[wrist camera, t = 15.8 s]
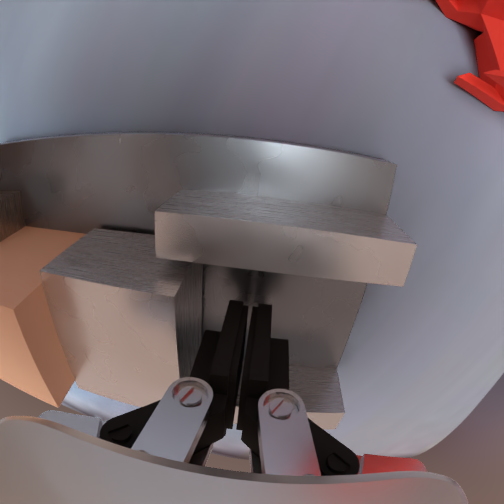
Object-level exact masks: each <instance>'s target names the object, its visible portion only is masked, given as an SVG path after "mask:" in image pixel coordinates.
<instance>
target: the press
mask: <svg viewBox="0 0 504 504" xmlns="http://www.w3.org/2000/svg"><path fill="white" fill-rule="evenodd" d="M396 167H397V165H396V164H394V163H391V162H389V161H386V160H384V159H379V158H375V157H370V156H366V155H361V154H356V153H351V152H346V151H341V150H335V149H329V148H324V147H318V146H312V145H305V144H298V143H291V142H284V141H276V140H268V139H259V138H250V137H240V136H228V135H215V134H198V133H175V132H109V133H87V134H72V135H59V136H49V137H39V138H31V139H23V140H16V141H9V142H4V143H0V242H1V241H3V240H4V239H6V238H7V237H9V236H11V235H12V234H14V233H15V232H17V231H19V230H20V229H22V228H24V227H25V226H28V227H36V228H44V229H52V230H60V231H68V232H76V233H84V234H87V233H88V232H90V231H91V230H92V229H94V228H98V229H106V230H115V231H124V232H132V233H141V234H150V235H155V251H156V257H157V258H164V259H172V260H179V261H187V262H194V263H202V264H203V276H202V338H203V335H204V332H205V330H213V331H220V332H221V330H222V326H223V322H224V319H225V315H226V311H227V308H228V304H229V301H230V300H236V301H244V305H246V306H249V308H248V318H247V328H246V338H245V348H244V357H243V365H242V371H241V377H240V384H239V390H238V396H237V403H236V409H235V415H234V421H233V423H235V424H237V419H238V410H239V400H240V390H241V381H242V373H243V367H244V360H245V353H246V347H247V340H248V333H249V327H250V320H251V313H252V307H253V306H255V307H258V303H261V304H270V305H272V322H271V338H278V339H288V341H289V390H290V391H293V392H294V393H296V394H297V395H299V397H300V398H301V399H302V400H303V403H304V405H305V409H306V413H307V417H308V418H309V419H310V420H312V421H313V422H314V423H315V424H317V425H318V426H319V427H321V428H322V429H336V427H337V425H338V424H339V422H340V420H341V419H342V417H343V415H344V413H345V411H344V405H343V400H342V394H341V389H340V384H339V378H338V373H337V366H338V363H339V361H340V358H341V356H342V353H343V351H344V348H345V346H346V343H347V340H348V338H349V335H350V332H351V330H352V327H353V324H354V321H355V318H356V316H357V313H358V310H359V307H360V304H361V301H362V298H363V295H364V292H365V289H366V286H367V283H373V284H383V285H393V286H404V283H405V280H406V277H407V275H408V272H409V269H410V266H411V263H412V260H413V257H414V253H415V250H416V247H417V244H416V243H415V242H414V241H413V240H412V239H411V238H410V237H409V236H408V235H407V234H406V233H405V232H404V231H403V230H402V229H401V228H400V227H399V226H397V225H396V224H395V223H394V222H393V221H392V220H391V219H390V218H389V217H388V216H387V215H386V213H387V209H388V205H389V200H390V196H391V191H392V187H393V182H394V177H395V172H396Z"/></svg>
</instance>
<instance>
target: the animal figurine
mask: <svg viewBox="0 0 504 504" xmlns="http://www.w3.org/2000/svg"><path fill="white" fill-rule="evenodd" d="M436 2H437V4H438V5H439V7H440V8H441V10H442V12H443V13H444V15H445V16H446V17H447V18H450V19H452V20H454V21H457V22H459V23H461V24H463V25H466V26H468V27H470V28H472V29H474V30H476V31H481V32H483V33H482V34H481V35H479V36H478V37H477V38H476V39H474V43H475V49H476V56H477V65H478V71H479V77H480V79H479V78H478V77H476V76H475V75H473V74H471V73H467V74H464V75H460V76H458V77H457V78H456V80H455V82H454V83H455V84H457V85H458V86H460V87H461V88H463V89H464V90H466V91H467V92H469V93H470V94H472V95H473V96H475V97H476V98H477V99H479V100H480V101H482V102H483V103H484V104H486V105H487V106H488V107H490V108H491V109H492V110H494V111H502V112H504V0H436Z"/></svg>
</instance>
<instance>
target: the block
mask: <svg viewBox="0 0 504 504" xmlns="http://www.w3.org/2000/svg"><path fill="white" fill-rule="evenodd" d="M84 235H86V234H84V233H76V232H68V231H60V230H52V229H44V228H36V227H28V226H25V227H24V228H22V229H20V230H19V231H17V232H15V233H14V234H12V235H11V236H9V237H7V238H6V239H4V240H3V241H1V242H0V379H2V380H4V381H6V382H7V383H9V384H11V385H13V386H15V387H17V388H18V389H20V390H22V391H24V392H26V393H28V394H30V395H32V396H34V397H36V398H38V399H40V400H42V401H45V402H47V403H49V404H51V405H53V406H56V407H58V408H59V406H60V405H61V403H62V401H63V399H64V398H65V396H66V394H67V393H68V391H69V389H70V388H71V386H72V384H73V383H74V381H75V379H74V376H73V374H72V372H71V369H70V367H69V364H68V362H67V359H66V357H65V354H64V351H63V349H62V346H61V343H60V340H59V338H58V335H57V332H56V329H55V326H54V323H53V319H52V316H51V313H50V310H49V306H48V303H47V299H46V296H45V292H44V288H43V284H42V281H41V277H40V272H39V271H40V270H41V269H42V268H43V267H44V266H46V265H47V264H48V263H49V262H51V261H52V260H53V259H54V258H56V257H57V256H58V255H59V254H61V253H62V252H63V251H65V250H66V249H67V248H68V247H70V246H71V245H72V244H74V243H75V242H76V241H78V240H79V239H80V238H82V237H83V236H84Z"/></svg>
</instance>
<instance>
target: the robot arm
mask: <svg viewBox="0 0 504 504" xmlns="http://www.w3.org/2000/svg"><path fill="white" fill-rule="evenodd" d="M248 308H249V306H246V305H244V301H236V300H230V301H229V304H228V308H227V311H226V315H225V319H224V322H223V326H222V330H221V332H220V331H213V330H205V332H204V335H203V338H202V341H201V344H200V347H199V349H198V352H197V355H196V358H195V361H194V364H193V367H192V370H191V373H190V376H189V377H184V378H180V379H178V380H176V381H174V382H173V383H172V384H171V385H170V386H169V387H168V389H167V391H166V392H165V394H164V396H163V397H162V399H161V400H159V401H156V402H154V403H151V404H149V405H146V406H144V407H141V408H138V409H136V410H133V411H131V412H128V413H125V414H123V415H120V416H117V417H114V418H112V419H110V420H108V421H101V419H100V418H96V417H89V416H82V415H76V414H70V413H65V412H59V411H50V410H49V411H46V412H44V413H43V414H41V415H40V416H39V418H37V417H30V416H9V417H6V418H3V419H2V420H0V504H469V503H468V500H467V498H466V496H465V494H464V492H463V490H462V488H461V487H460V485H459V484H458V483H457V482H456V481H454V480H453V479H451V478H449V477H446V476H443V475H440V474H435V473H431V472H426V468H425V466H424V465H423V463H421V462H420V461H418V460H416V459H412V458H398V457H387V456H378V455H370V454H364V455H363V456H358V455H356V454H355V453H354V452H352V451H351V450H350V449H349V448H347V447H346V446H345V445H343V444H342V443H340V442H339V441H338V440H336V439H335V438H334V437H332V436H331V435H330V434H328V433H327V432H326V431H324V430H323V429H322V428H321V427H319V426H318V425H317V424H315V423H314V422H313V421H312V420H310V419H309V418H308V417H307V413H306V409H305V405H304V403H303V400H302V399H301V398H300V397H299V395H297V394H296V393H294V392H293V391H290V390H289V341H288V339H278V338H271V322H272V305H270V304H261V303H258V307H255V306H253V307H252V313H251V320H250V327H249V333H248V340H247V347H246V353H245V360H244V367H243V373H242V381H241V390H240V400H239V410H238V419H237V429H236V430H242V437H241V440H242V441H243V442H244V443H245V444H246V445H247V446H248V447H249V448H250V451H249V455H250V467H251V473H248V472H239V471H231V470H223V469H217V468H211V467H205V465H206V462H207V460H208V458H209V455H210V453H211V450H212V448H213V444H214V442H216V441H218V440H220V439H222V438H223V437H224V436H225V434H226V429H227V428H228V429H232V427H233V421H234V415H235V409H236V403H237V396H238V390H239V384H240V377H241V371H242V365H243V357H244V348H245V338H246V328H247V318H248Z"/></svg>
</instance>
